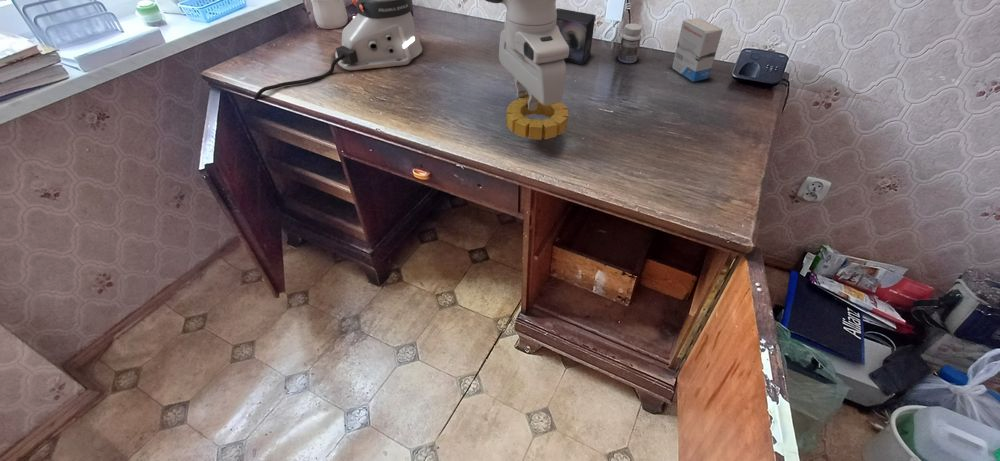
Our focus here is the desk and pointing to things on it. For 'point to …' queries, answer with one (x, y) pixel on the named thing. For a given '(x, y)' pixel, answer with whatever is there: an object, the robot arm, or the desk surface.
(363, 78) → the desk surface
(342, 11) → the cup
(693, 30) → the ink box
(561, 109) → the ring
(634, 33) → the pill bottle
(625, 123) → the desk surface
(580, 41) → the small box
